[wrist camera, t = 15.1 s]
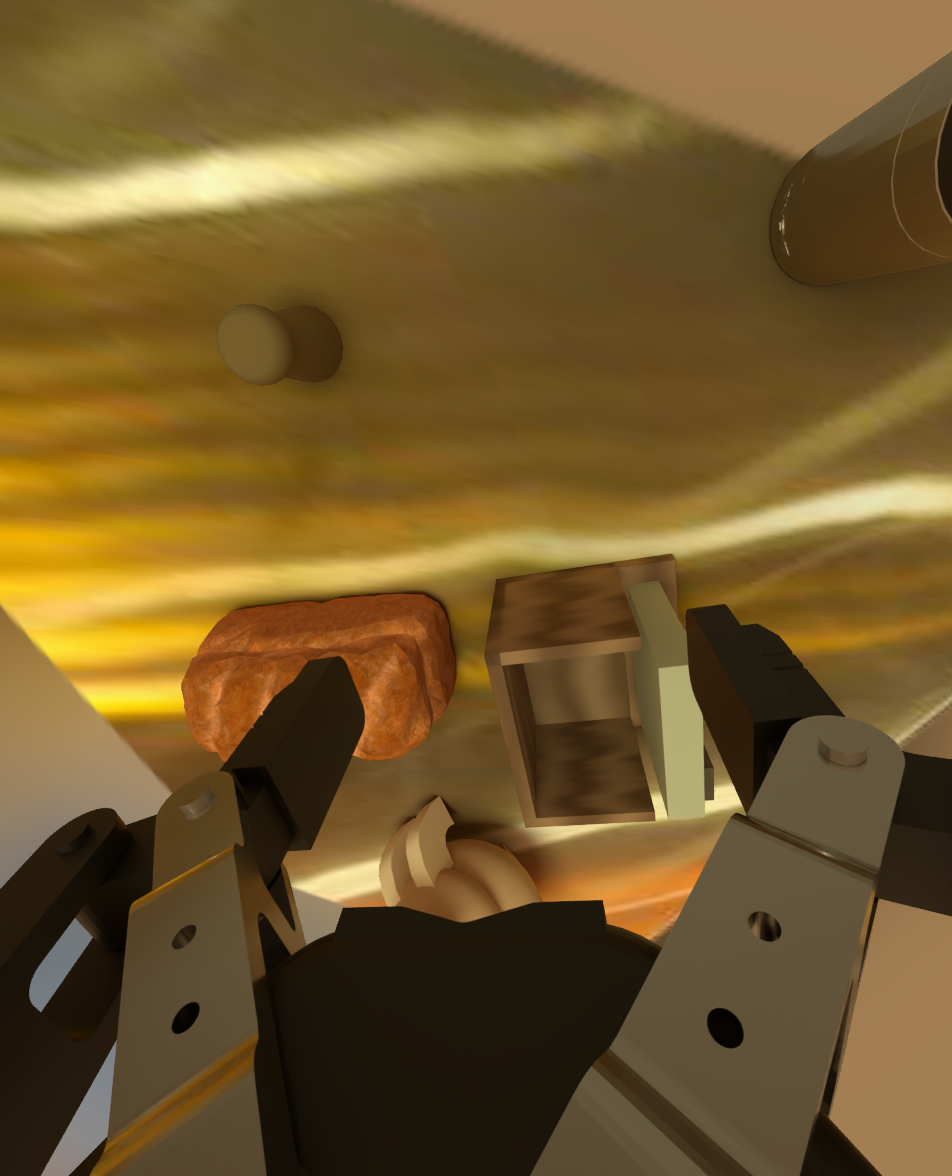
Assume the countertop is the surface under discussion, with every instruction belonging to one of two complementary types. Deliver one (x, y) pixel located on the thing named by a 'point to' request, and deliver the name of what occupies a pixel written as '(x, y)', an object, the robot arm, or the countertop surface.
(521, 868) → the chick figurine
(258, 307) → the cork
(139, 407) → the countertop surface
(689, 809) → the door
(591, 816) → the cabinet
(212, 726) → the bread
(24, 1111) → the robot arm
